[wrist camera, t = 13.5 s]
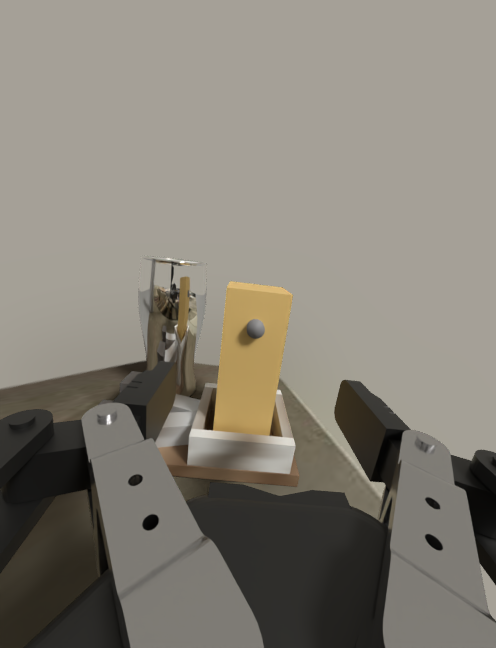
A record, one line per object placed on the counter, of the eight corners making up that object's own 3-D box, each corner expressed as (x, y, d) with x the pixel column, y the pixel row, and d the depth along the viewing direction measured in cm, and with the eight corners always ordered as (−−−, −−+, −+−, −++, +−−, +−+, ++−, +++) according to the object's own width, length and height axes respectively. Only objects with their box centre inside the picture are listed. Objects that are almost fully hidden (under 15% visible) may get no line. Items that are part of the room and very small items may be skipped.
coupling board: (79, 468, 18) (75, 420, 16) (129, 405, 25) (128, 369, 24) (297, 486, 18) (306, 442, 17) (281, 419, 26) (287, 386, 25)
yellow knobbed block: (210, 456, 19) (226, 288, 15) (217, 412, 24) (230, 280, 21) (266, 461, 19) (294, 296, 15) (261, 416, 24) (281, 286, 21)
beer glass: (162, 413, 24) (167, 260, 20) (125, 386, 28) (124, 253, 24) (211, 389, 30) (222, 265, 26) (175, 369, 34) (180, 258, 30)
